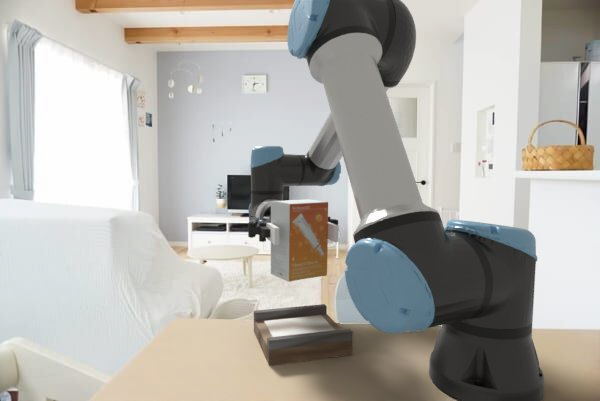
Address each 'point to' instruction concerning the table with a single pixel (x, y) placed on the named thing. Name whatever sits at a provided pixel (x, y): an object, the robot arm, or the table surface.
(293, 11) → the robot arm
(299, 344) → the tray
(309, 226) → the small box
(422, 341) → the table surface
